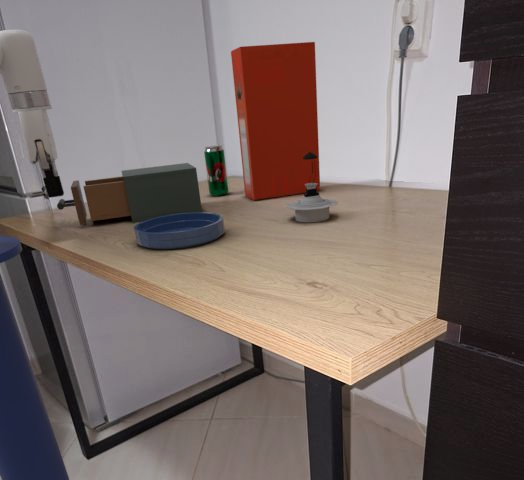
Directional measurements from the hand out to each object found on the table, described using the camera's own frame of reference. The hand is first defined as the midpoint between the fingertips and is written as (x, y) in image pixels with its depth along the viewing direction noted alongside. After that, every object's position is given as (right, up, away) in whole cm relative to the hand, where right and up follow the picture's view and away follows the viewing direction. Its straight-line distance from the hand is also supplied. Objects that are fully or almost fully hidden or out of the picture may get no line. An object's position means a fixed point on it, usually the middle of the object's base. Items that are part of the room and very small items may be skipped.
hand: (56, 195), depth 109 cm
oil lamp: (+55, -8, -11) cm, 57 cm away
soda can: (+34, +7, +23) cm, 42 cm away
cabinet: (+22, -1, +8) cm, 24 cm away
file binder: (+50, +6, +17) cm, 53 cm away
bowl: (+30, -13, -17) cm, 37 cm away
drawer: (+9, -3, +4) cm, 11 cm away
